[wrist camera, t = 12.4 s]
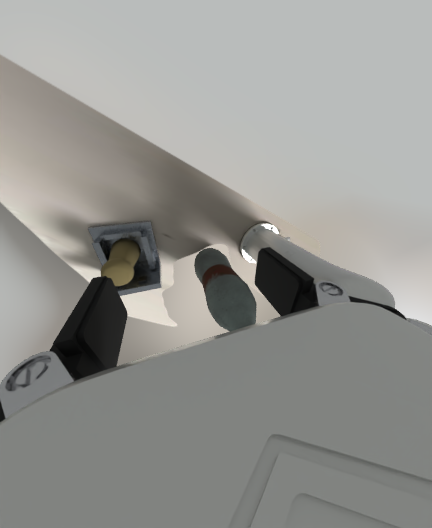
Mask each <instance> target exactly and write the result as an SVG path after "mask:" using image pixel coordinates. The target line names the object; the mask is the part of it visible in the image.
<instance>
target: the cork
mask: <svg viewBox="0 0 432 528" xmlns="http://www.w3.org/2000/svg"><path fill="white" fill-rule="evenodd" d="M140 255H141V249H140V247H139V245H138V244H137V243H136V242H135V241H133V240H130V239H119V240H117V241H115V242H114V243H113V245H112V247H111V251H110V256H109V260H108V261H107V262H106V263H105V264H104V265H103V266H102V268H101V277H102V276H107V277H108V278H111V279H112V281H113V283H114V285H115V286H122V285H125V284H127V283H129V282H130V281H131V280H132V278H133V276H134V269H133V267H134V265H135V263H136V262H137V260H138V258H139V256H140Z"/></svg>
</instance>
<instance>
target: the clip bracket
mask: <svg viewBox="0 0 432 528" xmlns="http://www.w3.org/2000/svg"><path fill="white" fill-rule="evenodd" d="M88 230H89V232H90V234H91V236H92V238H93V241H94V242H93V243H92V245H93V247H94V249H95V251H96V253H97V256H98V258H99V260H100V262H101V264H102V266H103V265H104V264H105V263H106V262H107V261H108V260H109V256H110V251H111V247H112V245H113V243H114V242H115V241H117V240H119V239H130V240H133V241H135V242H136V243H137V244H138V245H139V247H140V249H141V255H140V256H139V258H138V260H137V262H136V263H135V265H134V267H133V269H134V276H133V278H132V280H131V281H130V282H129V283H127V284H125V285H122V286H115V287H116V289H117V291H118V293H119V296H122V295H127V294H132V293H137V292H142V291H146V290H151V289H156V288H161V263H160V258H159V254H158V250H157V246H156V242H155V238H154V234H153V230H152V225H151V221H143V222H133V223H123V224H114V225H104V226H94V227H89V228H88Z"/></svg>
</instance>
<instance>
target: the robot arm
mask: <svg viewBox="0 0 432 528" xmlns="http://www.w3.org/2000/svg"><path fill="white" fill-rule="evenodd" d="M240 250H241V254H242V256H243V257H244V258H245V259H246V260H247V261H249V262H251V263H257V267H256V275H255V285H256V286H257V288H258V289H259V290H260V291H261V293H262V294H263V295H264V296H265V297H266V299H267V300H268V301H269V302H270V303H271V305H272V306H273V307H274V308H275V309H276V311H277V312H278V313H279V314H280V315H281V317H278V318H275V319H271V320H268V321H264V322H261V323H258V324H254V325H251V326H247V327H244V328H240V329H237V330H234V331H230V332H227V333H224V334H220V335H217V336H214V337H210V338H207V339H204V340H200V341H197V342H194V343H190V344H187V345H184V346H181V347H178V348H174V349H171V350H168V351H164V352H161V353H158V354H155V355H151V356H148V357H145V358H141V359H138V360H135V361H132V362H129V363H126V364H123V365H119V366H116V365H117V361H118V356H119V352H120V347H121V343H122V338H123V334H124V329H125V324H126V320H127V310H126V308H125V306H124V304H123V302H122V300H121V298H120V296H119V293H118V291H117V289H116V287H115V285H114V283H113V281H112V279H111V278H108V277H107V276H102V277H96V278H93V279H92V280H91V282H90V284H89V286H88V287H87V289H86V290H85V292H84V294H83V295H82V297H81V298H80V300H79V302H78V304H77V305H76V307H75V308H74V310H73V312H72V313H71V315H70V316H69V318H68V320H67V321H66V323H65V325H64V326H63V328H62V329H61V331H60V333H59V335H58V336H57V338H56V339H55V341H54V343H53V346H52V348H51V349H50V351H46V352H41V353H38V354H36V355H33V356H31V357H29V358H28V359H26V360H24V361H23V362H21V363H20V364H18V365H17V366H16V367H15V368H14V369H12V370H11V371H10V372H9V373H8V374H7V375H6V377H5V378H4V379H3V380H2V382H1V384H0V528H432V326H431V325H429V324H427V323H424V322H421V321H418V320H414V319H409V318H405V317H404V315H402V314H401V313H400V312H399V311H397V310H396V309H395V301H394V298H393V296H392V294H391V293H390V292H389V291H388V290H387V289H386V288H385V287H384V286H382V285H380V284H379V283H377V282H375V281H373V280H371V279H369V278H367V277H364V276H362V275H359V274H356V273H353V272H351V271H348V270H346V269H343V268H340V267H338V266H335V265H333V264H331V263H329V262H327V261H325V260H323V259H321V258H319V257H317V256H315V255H314V254H312V253H310V252H308V251H306V250H304V249H303V248H301V247H299V246H297V245H295V244H294V243H292V242H290V237H285V238H284V237H282V236H280V235H279V232H278V230H277V229H276V227H274V226H273V225H271V224H269V223H259V224H256V225H255V226H253V227H251V228H250V229H249V230H248V231H247V232H246V233H245V235H244V236H243V238H242V241H241V246H240Z"/></svg>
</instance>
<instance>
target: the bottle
mask: <svg viewBox="0 0 432 528" xmlns="http://www.w3.org/2000/svg"><path fill="white" fill-rule="evenodd" d="M194 266H195V272H196V275H197V277H198V278H199V280H200V282H201V283H202V284H203V288H204V292H205V295H206V301H207V305H208V309H209V311H210V313H211V315H212V316H213V318H214V319H215V321H216V322H217V323H218V324H219V325H220V326H221V327H223V328H225V329H227V330H228V331H234V330H237V329H240V328H244V327H247V326H251V325H254V324H255V322H256V301H255V298H254V296H253V294H252V293H251V291H250V289H249V287H248V285H247V284H246V283H245V282H244V281H243V280H242V279H241V278H240V277H239V276H238V275H237V274H236V273H235V272H234V271H233V269H232V268H231V265H230V263H229V261H228V259H227V258H226V256H225V255H224V254H222V253H221V252H220V251H218V250H216V249H213V248H207V249H204V250H202V251H201V252H199V254H198V255H197V256H196V259H195V265H194Z"/></svg>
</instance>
